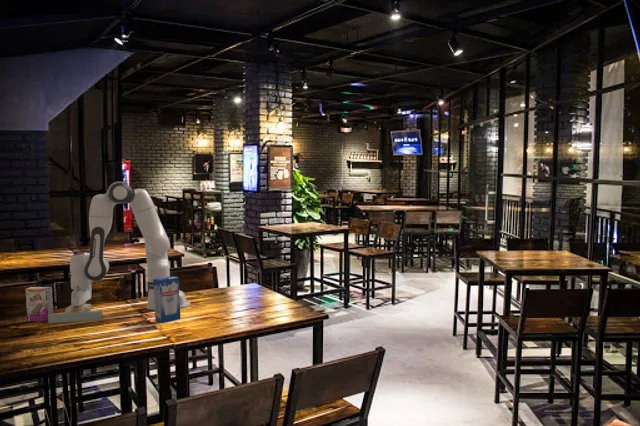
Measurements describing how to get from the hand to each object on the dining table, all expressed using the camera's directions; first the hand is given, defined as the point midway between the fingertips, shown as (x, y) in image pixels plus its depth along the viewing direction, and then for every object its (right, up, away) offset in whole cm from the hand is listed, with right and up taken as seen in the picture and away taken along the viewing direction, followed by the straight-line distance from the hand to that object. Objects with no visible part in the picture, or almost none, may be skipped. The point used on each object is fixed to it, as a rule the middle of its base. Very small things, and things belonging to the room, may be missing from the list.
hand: (82, 311), depth 272 cm
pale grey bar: (+2, -3, -11) cm, 12 cm away
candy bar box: (-17, -3, -8) cm, 19 cm away
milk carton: (+48, -1, -15) cm, 50 cm away
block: (+1, -2, -6) cm, 6 cm away
